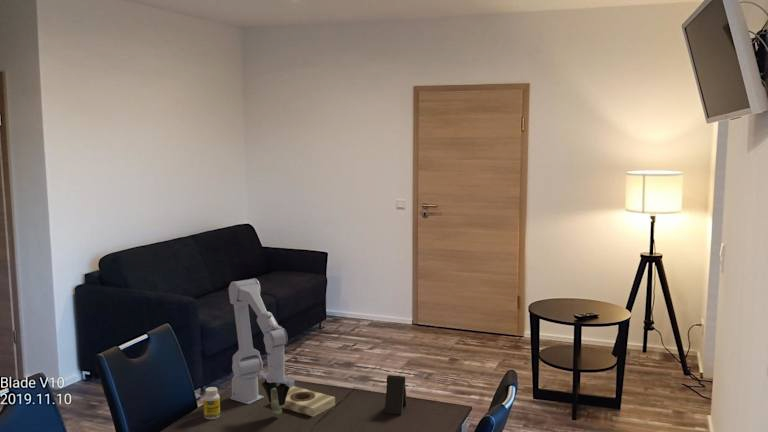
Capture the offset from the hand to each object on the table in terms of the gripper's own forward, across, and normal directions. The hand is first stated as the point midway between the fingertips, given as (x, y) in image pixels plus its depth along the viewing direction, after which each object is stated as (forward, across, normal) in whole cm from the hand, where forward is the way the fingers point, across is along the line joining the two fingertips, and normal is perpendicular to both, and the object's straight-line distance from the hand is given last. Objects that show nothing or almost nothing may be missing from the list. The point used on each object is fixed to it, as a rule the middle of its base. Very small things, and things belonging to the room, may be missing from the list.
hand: (277, 403), depth 228 cm
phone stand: (+5, +30, +28) cm, 41 cm away
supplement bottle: (+5, -19, -12) cm, 23 cm away
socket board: (+5, 0, +13) cm, 14 cm away
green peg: (+3, 0, 0) cm, 3 cm away
